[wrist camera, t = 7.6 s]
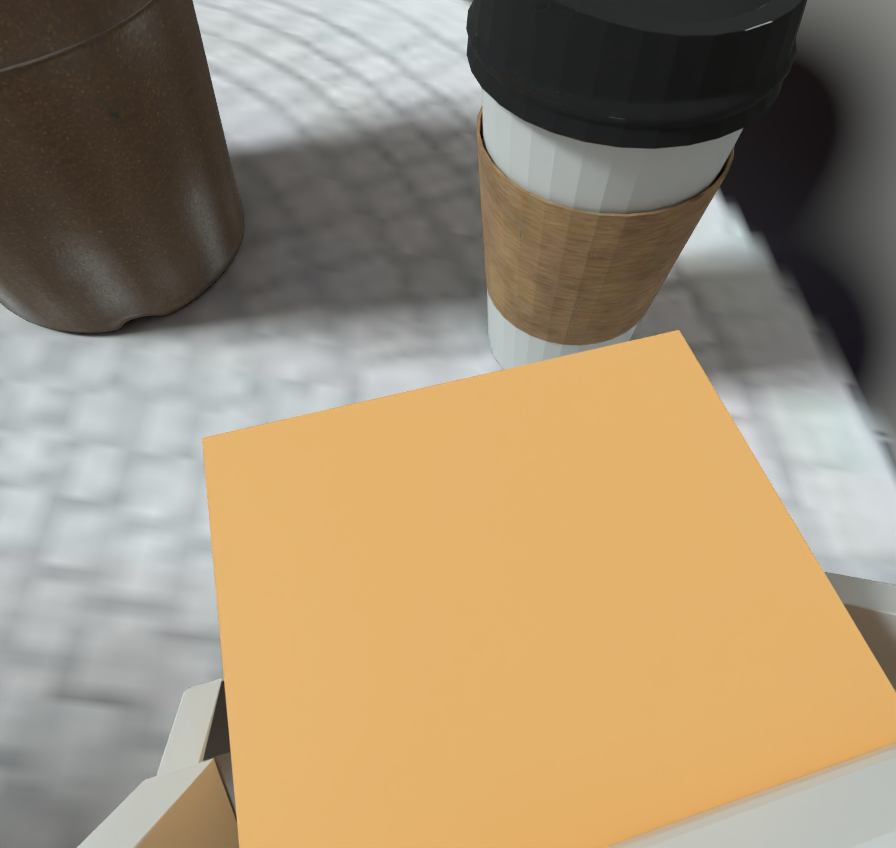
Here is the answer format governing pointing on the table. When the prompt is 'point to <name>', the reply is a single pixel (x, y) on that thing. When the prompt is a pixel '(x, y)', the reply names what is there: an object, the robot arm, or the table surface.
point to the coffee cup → (607, 151)
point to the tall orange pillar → (522, 613)
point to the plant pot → (109, 163)
